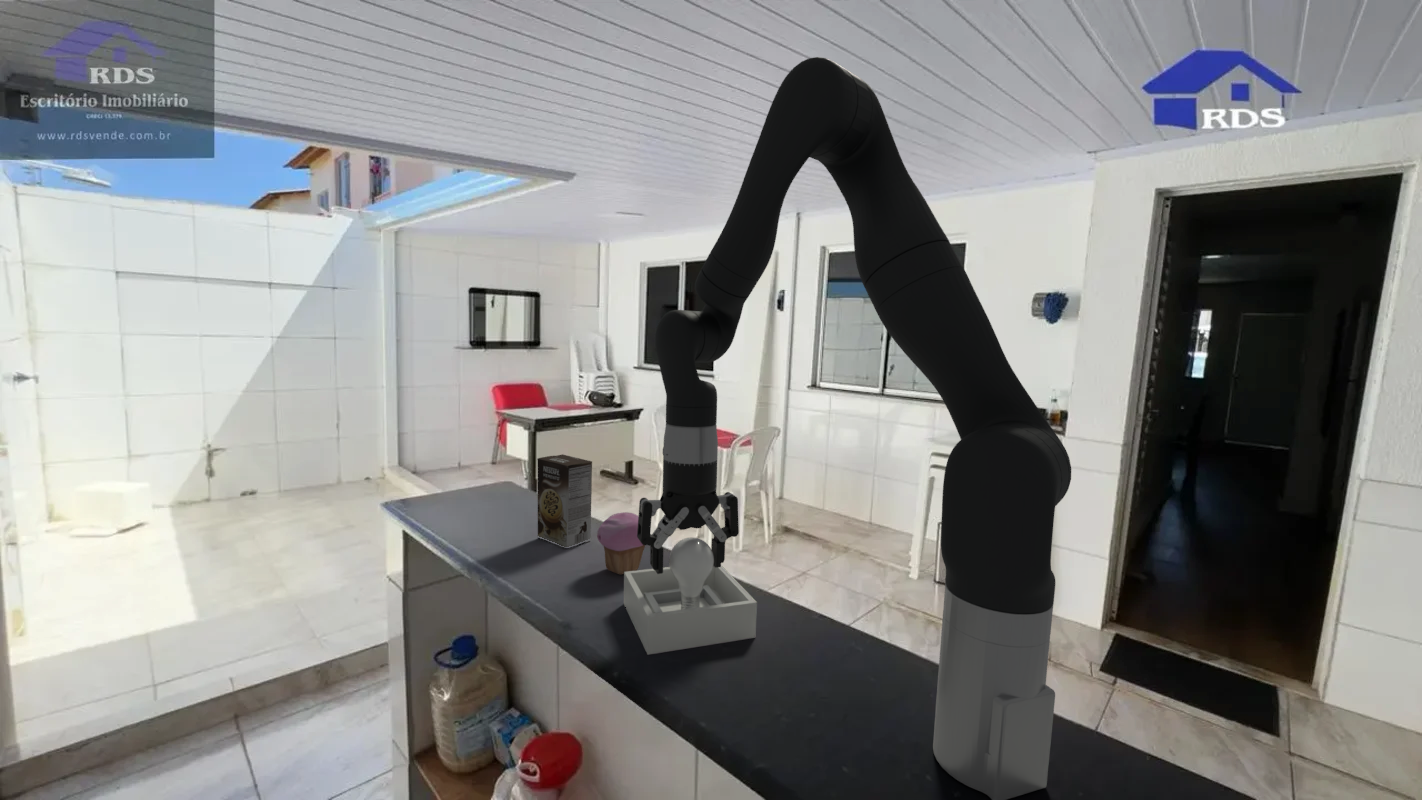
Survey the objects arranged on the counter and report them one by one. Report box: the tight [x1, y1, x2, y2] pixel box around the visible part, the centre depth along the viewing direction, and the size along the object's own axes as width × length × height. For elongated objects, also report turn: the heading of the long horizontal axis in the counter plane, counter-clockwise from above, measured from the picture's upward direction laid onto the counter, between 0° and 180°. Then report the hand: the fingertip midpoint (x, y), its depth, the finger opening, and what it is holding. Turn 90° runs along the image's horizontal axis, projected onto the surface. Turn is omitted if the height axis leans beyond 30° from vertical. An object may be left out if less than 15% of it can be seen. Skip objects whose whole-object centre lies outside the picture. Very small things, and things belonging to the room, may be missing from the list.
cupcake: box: [596, 511, 646, 575], centre depth 102 cm, size 9×9×10 cm
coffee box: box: [536, 453, 593, 547], centre depth 115 cm, size 9×6×16 cm
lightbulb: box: [668, 537, 714, 610], centre depth 84 cm, size 6×6×11 cm
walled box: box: [623, 564, 758, 656], centre depth 85 cm, size 15×15×5 cm
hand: (687, 568), depth 84 cm, fingers open, 8 cm apart
